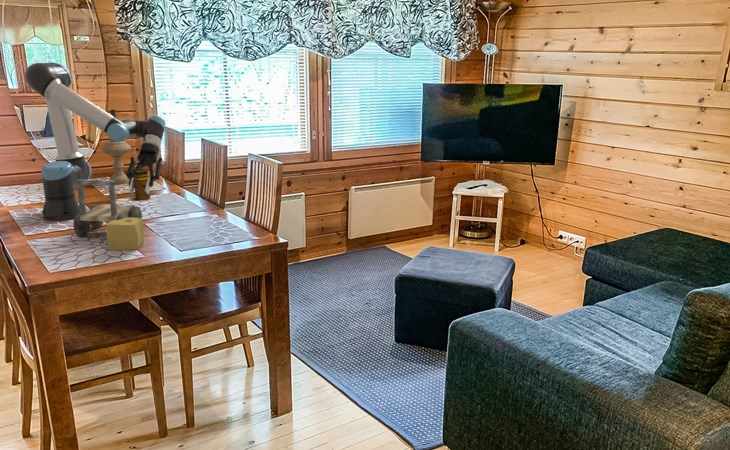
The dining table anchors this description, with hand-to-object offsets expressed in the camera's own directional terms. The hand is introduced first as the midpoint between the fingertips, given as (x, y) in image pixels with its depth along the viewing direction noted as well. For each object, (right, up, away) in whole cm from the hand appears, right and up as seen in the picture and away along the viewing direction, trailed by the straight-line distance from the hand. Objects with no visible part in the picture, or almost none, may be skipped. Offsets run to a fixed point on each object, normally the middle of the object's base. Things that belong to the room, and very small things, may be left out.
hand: (138, 192), depth 238 cm
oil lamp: (-43, +10, +82) cm, 93 cm away
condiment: (-1, -3, +5) cm, 5 cm away
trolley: (-9, -16, -7) cm, 20 cm away
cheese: (+5, -22, -24) cm, 32 cm away
